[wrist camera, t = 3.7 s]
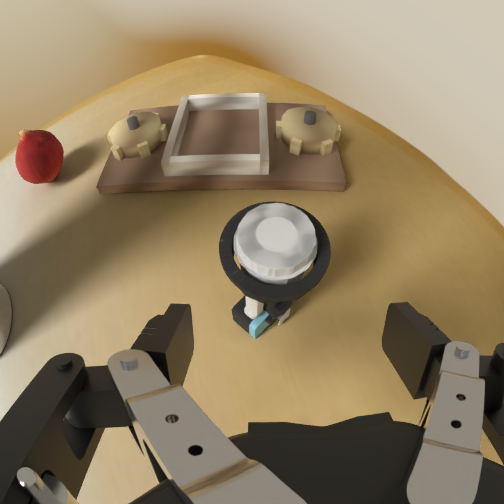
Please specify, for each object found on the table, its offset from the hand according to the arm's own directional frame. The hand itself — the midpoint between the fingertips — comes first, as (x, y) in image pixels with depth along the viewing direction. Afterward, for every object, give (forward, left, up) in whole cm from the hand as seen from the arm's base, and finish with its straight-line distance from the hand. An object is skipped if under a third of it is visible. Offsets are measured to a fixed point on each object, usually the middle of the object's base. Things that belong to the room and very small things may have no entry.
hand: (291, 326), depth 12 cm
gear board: (-5, +22, -10) cm, 25 cm away
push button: (0, +5, -10) cm, 11 cm away
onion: (-25, +19, -10) cm, 33 cm away
